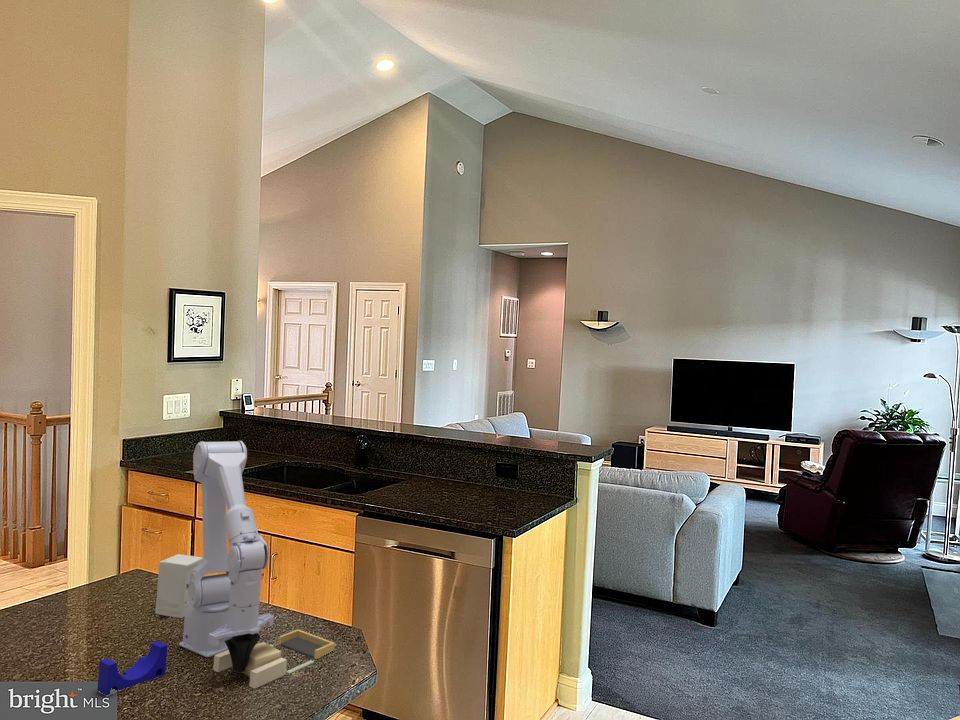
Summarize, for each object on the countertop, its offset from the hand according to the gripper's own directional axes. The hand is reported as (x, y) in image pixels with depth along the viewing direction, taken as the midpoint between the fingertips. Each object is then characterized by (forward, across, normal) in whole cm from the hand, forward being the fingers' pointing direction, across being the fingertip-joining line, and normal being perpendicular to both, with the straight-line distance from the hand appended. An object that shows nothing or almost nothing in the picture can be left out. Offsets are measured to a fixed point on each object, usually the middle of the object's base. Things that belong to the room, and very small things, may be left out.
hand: (238, 670), depth 143 cm
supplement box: (+2, +13, +37) cm, 39 cm away
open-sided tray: (+1, +18, 0) cm, 18 cm away
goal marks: (+1, +11, 0) cm, 11 cm away
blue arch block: (+2, -14, +13) cm, 20 cm away
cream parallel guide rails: (+1, +3, 0) cm, 3 cm away
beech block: (+1, +4, -1) cm, 5 cm away
